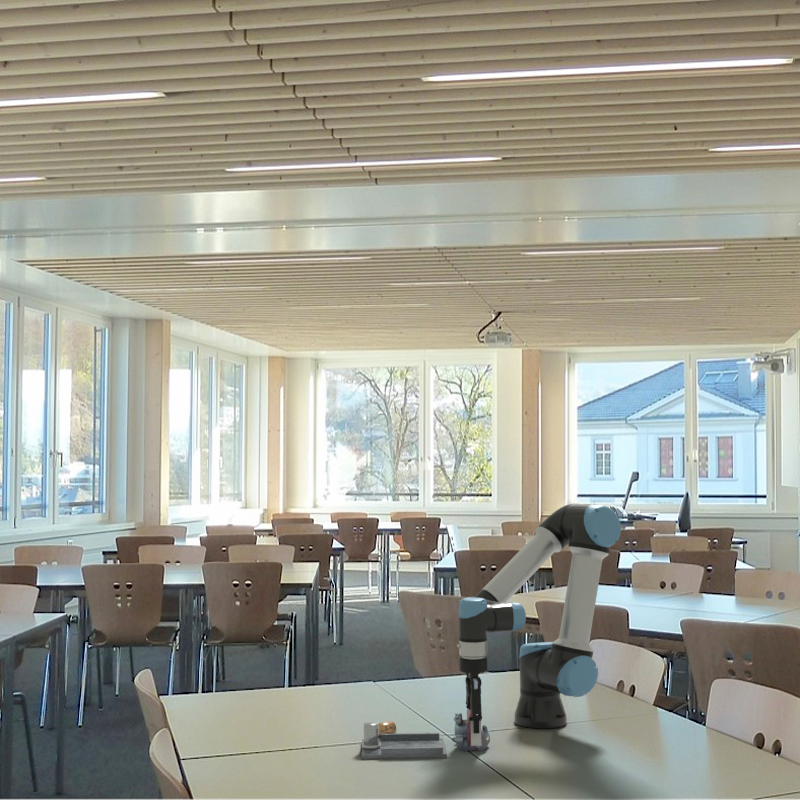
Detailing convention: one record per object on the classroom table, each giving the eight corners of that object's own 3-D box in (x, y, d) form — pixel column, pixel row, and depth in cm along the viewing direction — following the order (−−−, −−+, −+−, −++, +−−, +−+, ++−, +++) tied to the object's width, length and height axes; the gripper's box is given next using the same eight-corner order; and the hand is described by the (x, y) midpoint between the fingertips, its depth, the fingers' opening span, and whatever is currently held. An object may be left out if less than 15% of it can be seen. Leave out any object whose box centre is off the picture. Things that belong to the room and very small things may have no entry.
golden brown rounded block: (389, 732, 306) (389, 720, 306) (396, 735, 303) (396, 722, 303) (371, 735, 303) (371, 722, 303) (377, 738, 299) (377, 725, 300)
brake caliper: (494, 744, 282) (466, 706, 285) (461, 768, 284) (434, 730, 286) (501, 734, 293) (474, 697, 296) (469, 757, 295) (443, 720, 297)
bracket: (442, 741, 295) (442, 715, 295) (447, 757, 279) (446, 730, 280) (361, 743, 294) (361, 717, 295) (361, 759, 278) (361, 731, 279)
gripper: (455, 649, 302) (456, 728, 301) (462, 664, 279) (463, 751, 278) (482, 648, 302) (483, 728, 301) (491, 664, 279) (492, 751, 278)
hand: (474, 739), depth 290 cm, fingers closed on brake caliper, 11 cm apart
